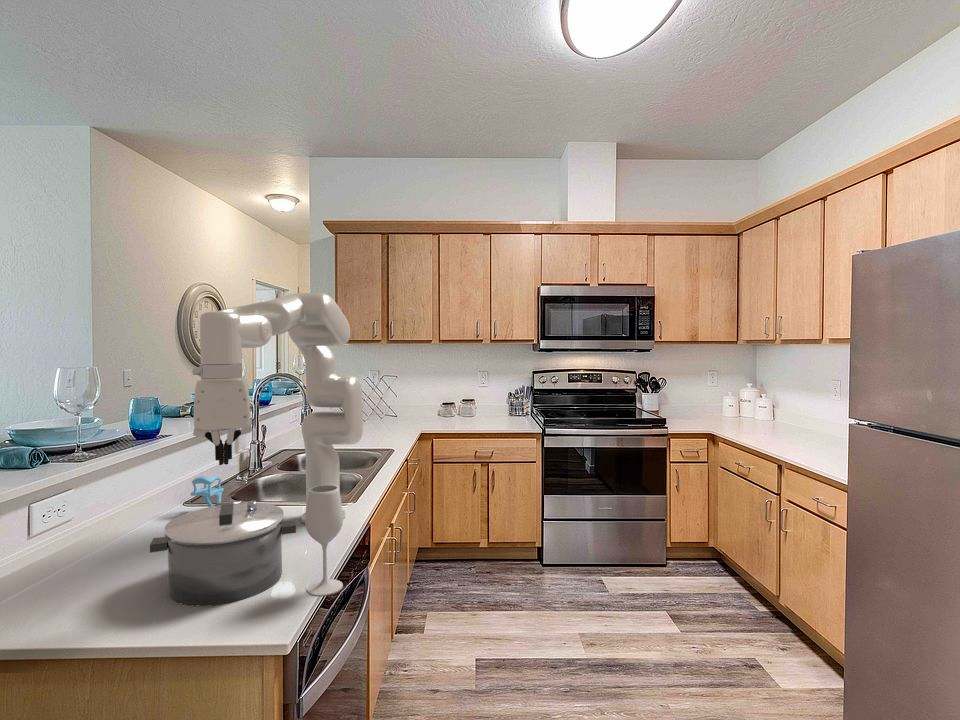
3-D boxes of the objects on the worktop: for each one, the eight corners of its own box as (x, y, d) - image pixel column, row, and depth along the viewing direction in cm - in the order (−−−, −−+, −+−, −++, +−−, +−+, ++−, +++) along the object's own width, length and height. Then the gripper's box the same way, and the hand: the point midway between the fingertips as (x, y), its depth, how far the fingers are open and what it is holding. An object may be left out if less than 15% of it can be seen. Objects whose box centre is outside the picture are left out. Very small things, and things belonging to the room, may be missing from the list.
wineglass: (305, 598, 105) (303, 494, 105) (307, 582, 113) (305, 485, 112) (344, 593, 107) (342, 491, 107) (343, 578, 115) (342, 482, 114)
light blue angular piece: (227, 509, 165) (227, 471, 164) (210, 518, 156) (209, 478, 156) (205, 508, 166) (204, 471, 166) (187, 517, 158) (186, 477, 157)
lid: (174, 514, 121) (174, 499, 121) (280, 502, 130) (280, 488, 130) (155, 553, 98) (155, 534, 98) (286, 535, 107) (285, 518, 107)
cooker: (161, 572, 118) (160, 519, 118) (292, 552, 129) (292, 504, 129) (142, 618, 98) (140, 554, 98) (299, 590, 109) (298, 533, 109)
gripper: (177, 375, 99) (179, 471, 100) (262, 373, 105) (264, 463, 106) (182, 373, 106) (184, 463, 107) (261, 371, 112) (263, 456, 113)
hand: (223, 463), depth 106 cm, fingers closed
